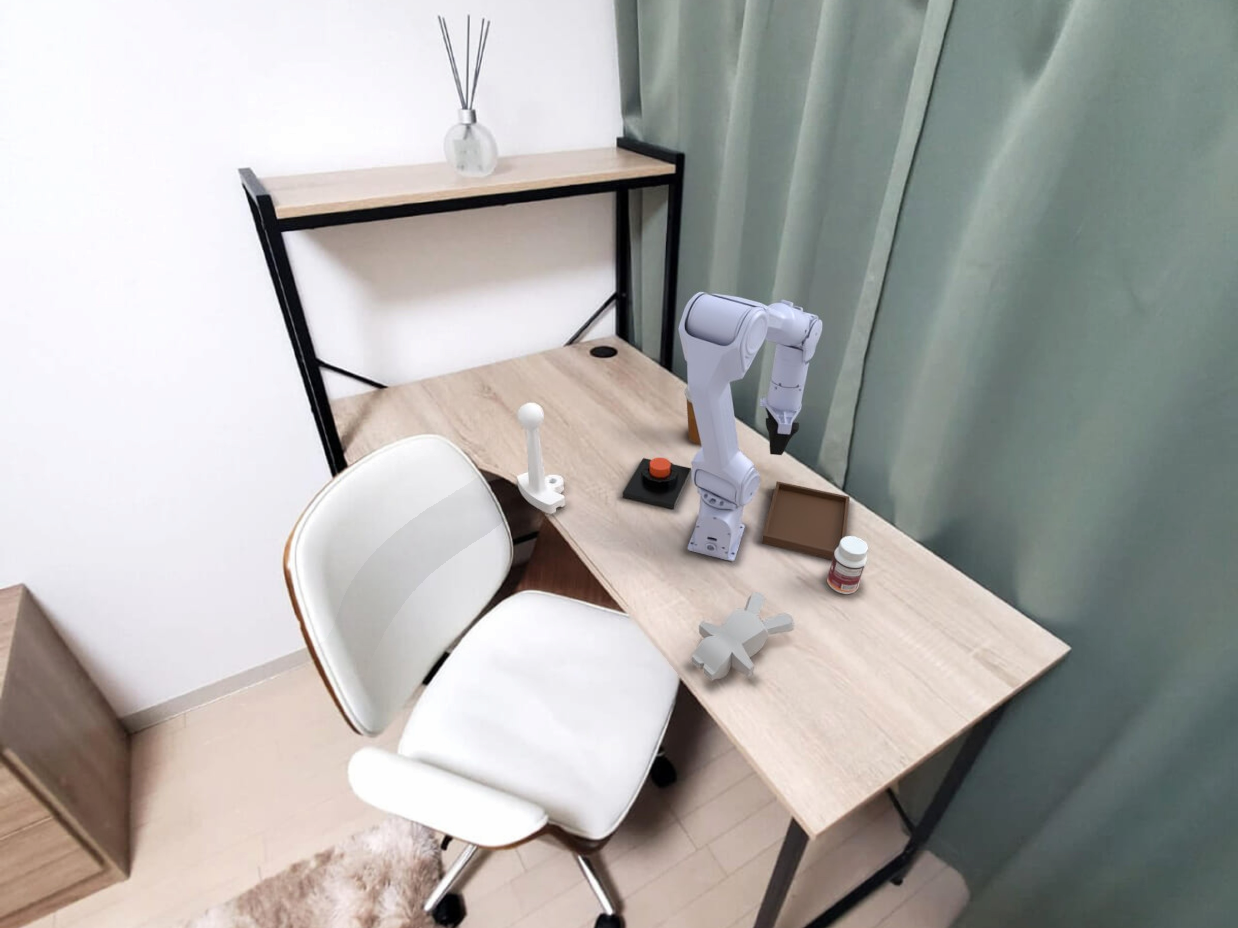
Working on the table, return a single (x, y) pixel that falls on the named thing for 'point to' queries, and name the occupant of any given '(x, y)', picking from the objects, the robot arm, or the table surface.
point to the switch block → (657, 485)
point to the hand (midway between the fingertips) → (775, 446)
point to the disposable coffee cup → (691, 419)
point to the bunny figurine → (737, 639)
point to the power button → (660, 467)
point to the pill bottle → (848, 565)
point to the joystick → (538, 465)
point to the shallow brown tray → (806, 520)
